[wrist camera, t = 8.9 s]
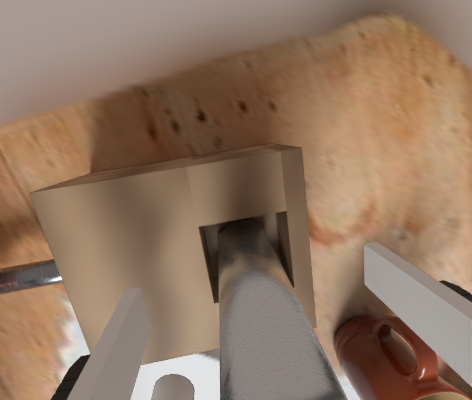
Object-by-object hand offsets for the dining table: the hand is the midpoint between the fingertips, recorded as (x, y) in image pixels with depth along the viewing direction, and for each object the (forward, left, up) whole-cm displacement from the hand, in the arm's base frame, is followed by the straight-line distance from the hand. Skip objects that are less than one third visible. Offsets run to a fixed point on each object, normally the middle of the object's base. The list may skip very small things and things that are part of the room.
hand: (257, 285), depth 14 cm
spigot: (0, 0, -7) cm, 7 cm away
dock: (-3, 0, -11) cm, 12 cm away
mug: (+13, -16, -11) cm, 23 cm away
